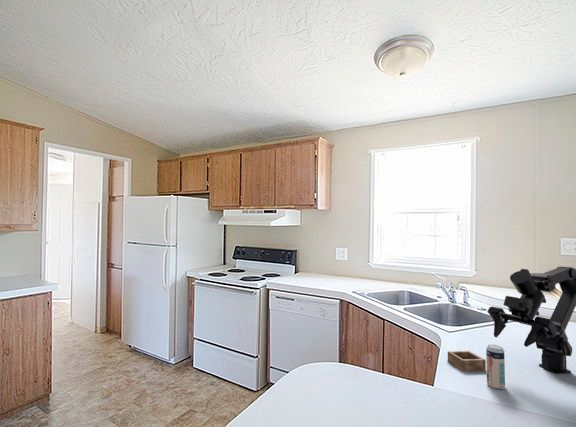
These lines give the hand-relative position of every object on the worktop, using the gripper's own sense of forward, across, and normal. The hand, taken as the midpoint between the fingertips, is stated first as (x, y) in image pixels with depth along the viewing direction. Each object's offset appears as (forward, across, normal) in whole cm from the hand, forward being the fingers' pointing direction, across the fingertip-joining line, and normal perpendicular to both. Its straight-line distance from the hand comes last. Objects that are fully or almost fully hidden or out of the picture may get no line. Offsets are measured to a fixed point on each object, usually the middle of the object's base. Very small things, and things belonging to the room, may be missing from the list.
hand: (509, 341), depth 101 cm
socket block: (+10, -14, +8) cm, 19 cm away
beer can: (+14, 0, +4) cm, 15 cm away
